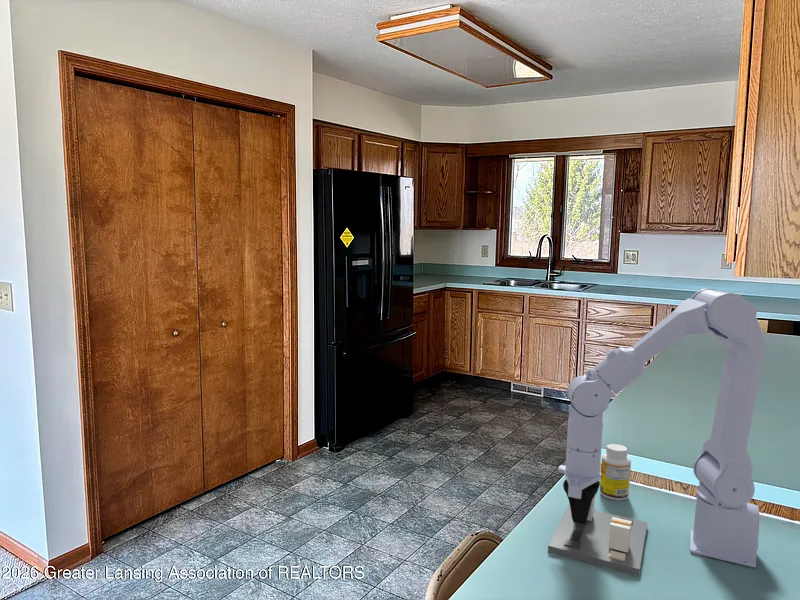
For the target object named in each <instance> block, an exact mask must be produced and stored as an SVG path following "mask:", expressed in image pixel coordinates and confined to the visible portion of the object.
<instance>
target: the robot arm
mask: <svg viewBox="0 0 800 600" xmlns="http://www.w3.org/2000/svg"><path fill="white" fill-rule="evenodd" d="M757 312H758V309H757V308H756V307H755V306H753V305H752V304H751V303H750V302H749V301H748V300H747V299H746V298H745V297H743V296H742V295H740V294H738V293H734V292H725V291H720V290H718V289H715V288H710V287H709V288H702V289H700V290H698V291H696V292H695V293H694V294H692V296H691V298H690V297H689V298H686V299H685V300H683V301H682V302H681V303H679V304H678V306H676V308H675V309H674V310H673V311H672V312H671V313H669V314H668V315H667V316H666V317H664V318H663V319H662V320H661V321H660V322H659V323H658V324H656V325H655V326H654V327H653V328H652V329H651V330H650V331H648V332H647V333H646V334H644V335H643V337H641V338H640V339H639V340H638V341H637V342H636V343H634V344H633V345H632V346H631V347H621V346H620V347H618V348H617V349H616V350H614V349H612V348H611V349H609V350H608V351H607V352H606V353H605V355H606V357H605V358H604V359H602V360H601V361H600V362H599V363H598V364H596V365H595V366H593V367H592V368H591V369H589V368H587V369H586V370H584V372H583V373H584V374H585V375H579V376H576V377H574V378H573V379H572V380H571V381H570V383H569V386H568V387H567V388H566V389H565V391H566V396H567V399H568V400H569V401H570V404H569V409H568V415H569V416H568V418H567V433H566V449H565V450H566V451H565V452H566V453H565V465H564V464H560V465H559V466H558V469H557V470H558V473H560V474H564V477H565V479H564V481H563V483H562V487H563V491H564V492H565V494H566V497H567V499H568V502H569V505H570V509H571V515H572V520H573V522H575V523H580V524H585V523H586V520H587V518H588V514H589V510H590V506H591V502H592V499H593V498H594V496H595V497H596V495H597V493H598V491H599V489H600V481H601V464H602V443H603V429H604V428H603V426H604V422H603V418H604V417H603V416H604V414H603V413H605V412H606V410H607V409H608V407H609V404H610V399H611V398H614V397H615V396H616V395H618V394H619V393H621V392H622V391H624V390H625V388H627V387H628V386H630V385H631V384H632V383H633V382H635V381H636V380H638V379H639V378H640V377H641V376H643V375H644V372H645V365H646V364H647V362H649V361H650V360H652V359H654V357H656V356H657V355H658V354H660V353H662V352H663V351H664V350H666V349H667V348H669V347H670V346H672V345H673V344H674V343H676V342H677V341H679V340H680V339H681V338H683V337H685V336H688V335H704V334H710V333H711V332H712V333H713V334H714V335H715V336H716V337H717V339H719V341H720V342H721V343H722V344H723V345H724V346H725V347H726V351H725V357H724V361H723V368H722V373H721V378H720V382H719V383H720V384H719V390H718V395H717V400H716V407H715V411H714V417H713V422H712V429H711V434H710V437H709V438H708V439H706V440H705V441H704V442H703V443H702V449H701V452H700V453H699V454H698V456H697V457H696V458H695V460H694V462H693V467H692V468H693V474H694V476H695V478H696V479H697V480H698V482H699V483H698V487H697V490H696V498H695V499H696V500H695V511H694V519H693V520H694V523H693V529H690V531H689V532H690V533H689V552H690V553H692V554H696V555H700V556H703V557H707V558H713V559H717V560H721V561H725V562H730V563H734V564H738V565H741V566H747V567H749V568H756V567H757V554H758V549H759V533H760V521H761V520H760V518H761V517H760V507H759V505H757V504H754V503H750V502H751V500H752V499H753V497H754V495H755V489H756V488H755V483H754V481H753V480H754V479H753V478H752V473H753V463H752V461H751V457H750V455H749V452H748V441H749V438H750V437H749V436H750V432H751V425H752V421H753V416H754V412H755V411H754V410H755V405H756V400H757V395H758V390H759V386H760V385H759V384H760V380H761V375H762V374H761V373H762V369H763V363H764V359H765V358H764V357H765V353H766V347H767V342H766V338H765V335H764V333H763V330H762V327H761V325H760V323H759V320H758V317H757Z"/></svg>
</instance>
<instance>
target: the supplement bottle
mask: <svg viewBox="0 0 800 600" xmlns="http://www.w3.org/2000/svg"><path fill="white" fill-rule="evenodd" d="M631 467H632V461H631V459H630V456H628V448H627V447H626V446H625V445H621V444H619V443H618V444H616V443H612V444H611V443H610V444H607V445H606V450H605V453H603V454H602V455H601V463H600V472H601V479H600V480H599V481H600V486H599V493H600V495H601V496H602V497H604V498H606V499H609V500H612V501H625V500H627V499H628V498H629V495H630V481H631V480H630V479H631V470H632V469H631Z"/></svg>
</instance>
